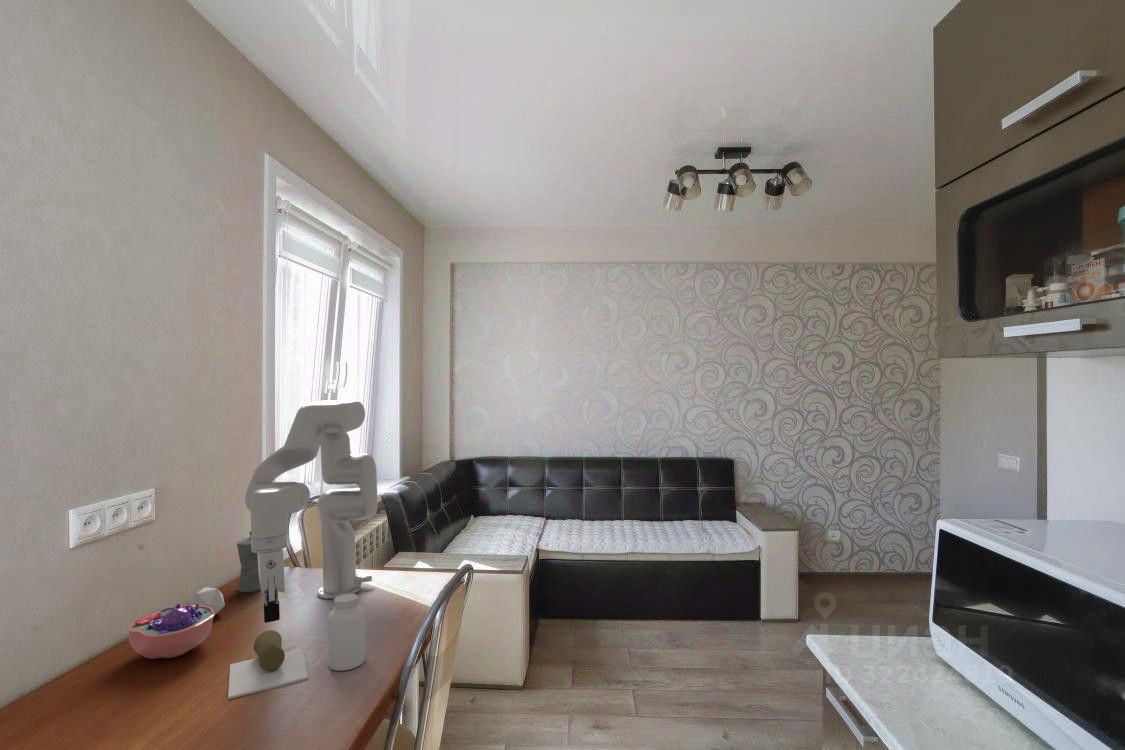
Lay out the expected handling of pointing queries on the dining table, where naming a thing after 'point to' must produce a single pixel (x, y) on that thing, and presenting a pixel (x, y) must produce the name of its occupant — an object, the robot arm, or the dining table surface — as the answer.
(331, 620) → the pill bottle
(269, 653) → the cork
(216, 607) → the die
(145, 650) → the cell model
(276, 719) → the dining table surface
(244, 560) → the coffeepot
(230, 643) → the dining table surface
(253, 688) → the mat
